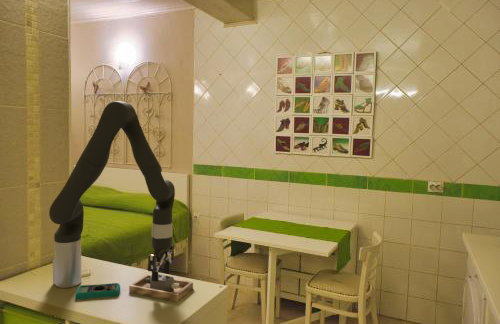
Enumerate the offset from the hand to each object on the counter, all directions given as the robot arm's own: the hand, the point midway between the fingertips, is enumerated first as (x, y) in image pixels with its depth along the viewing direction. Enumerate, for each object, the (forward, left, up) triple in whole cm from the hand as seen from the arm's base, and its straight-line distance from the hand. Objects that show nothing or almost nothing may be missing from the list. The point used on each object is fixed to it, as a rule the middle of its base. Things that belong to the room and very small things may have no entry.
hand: (161, 276), depth 147 cm
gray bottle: (0, 0, -5) cm, 5 cm away
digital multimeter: (-19, -11, -6) cm, 23 cm away
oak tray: (0, 0, -5) cm, 5 cm away
